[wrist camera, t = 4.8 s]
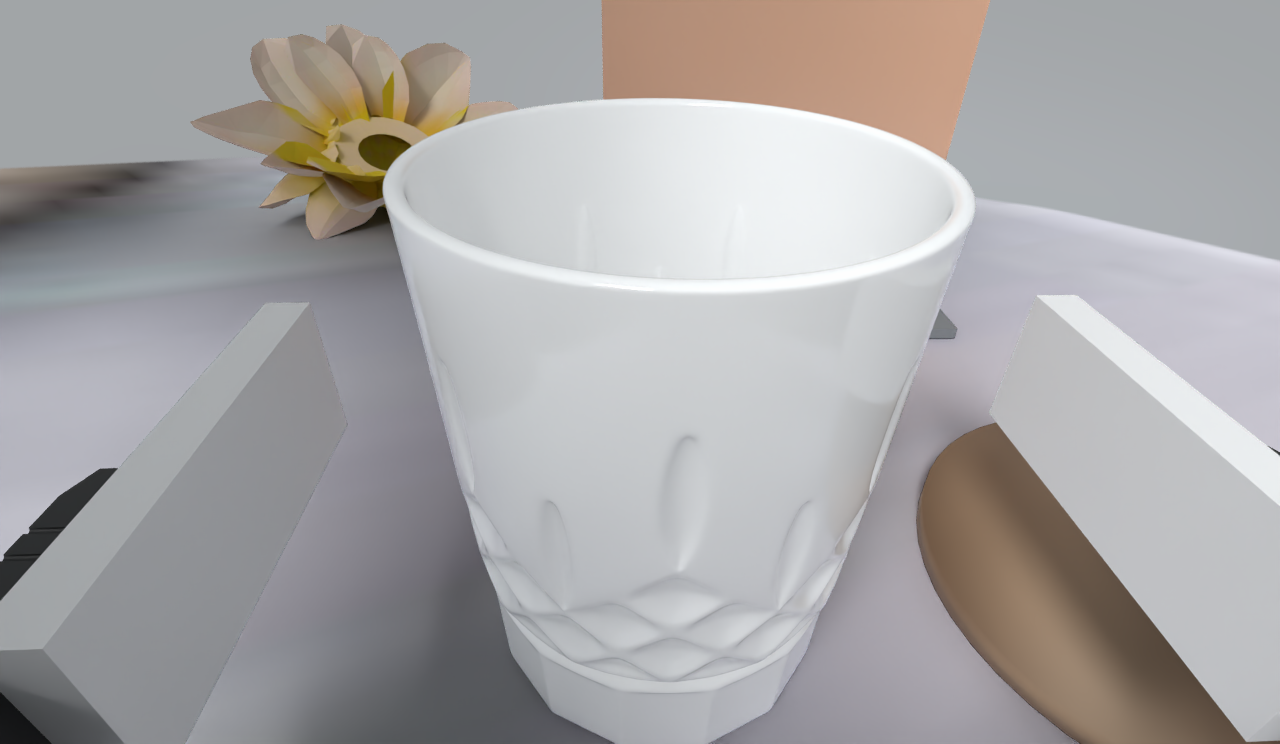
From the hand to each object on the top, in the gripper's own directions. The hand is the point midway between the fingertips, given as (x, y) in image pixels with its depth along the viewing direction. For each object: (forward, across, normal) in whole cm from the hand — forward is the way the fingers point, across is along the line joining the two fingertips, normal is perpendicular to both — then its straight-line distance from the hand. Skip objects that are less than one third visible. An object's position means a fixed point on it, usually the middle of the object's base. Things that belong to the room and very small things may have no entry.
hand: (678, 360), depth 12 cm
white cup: (-1, 0, -6) cm, 6 cm away
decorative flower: (+23, -12, -6) cm, 27 cm away
